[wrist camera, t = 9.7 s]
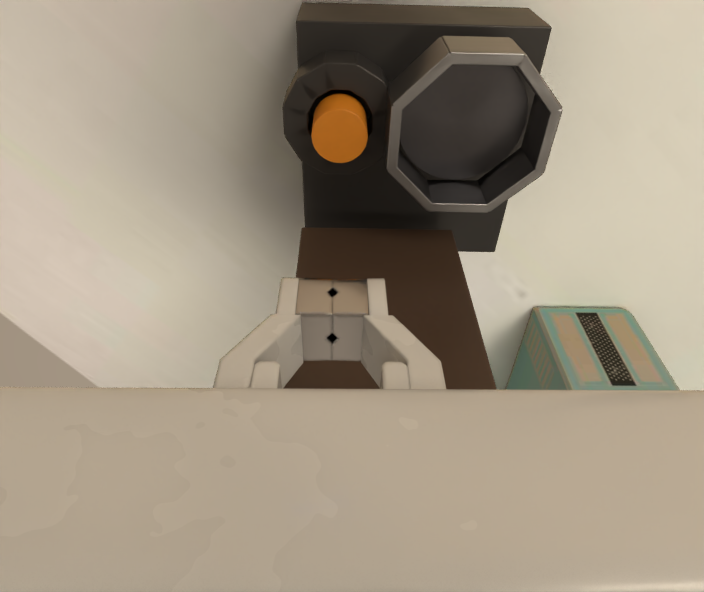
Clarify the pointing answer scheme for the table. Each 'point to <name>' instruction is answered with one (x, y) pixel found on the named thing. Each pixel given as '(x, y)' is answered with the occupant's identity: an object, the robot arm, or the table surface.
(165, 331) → the table surface
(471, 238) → the base
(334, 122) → the power button
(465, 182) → the coffee maker
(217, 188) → the table surface
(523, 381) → the device
